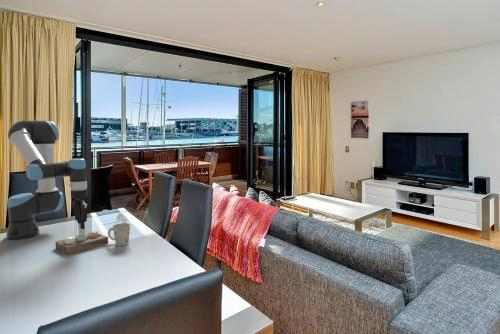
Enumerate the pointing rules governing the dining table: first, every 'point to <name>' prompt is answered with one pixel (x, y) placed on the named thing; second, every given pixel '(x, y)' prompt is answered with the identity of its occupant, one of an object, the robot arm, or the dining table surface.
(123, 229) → the mug
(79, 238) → the button sage
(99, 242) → the button panel
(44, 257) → the dining table surface
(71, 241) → the button cream
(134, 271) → the dining table surface
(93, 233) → the button terracotta
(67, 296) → the dining table surface
